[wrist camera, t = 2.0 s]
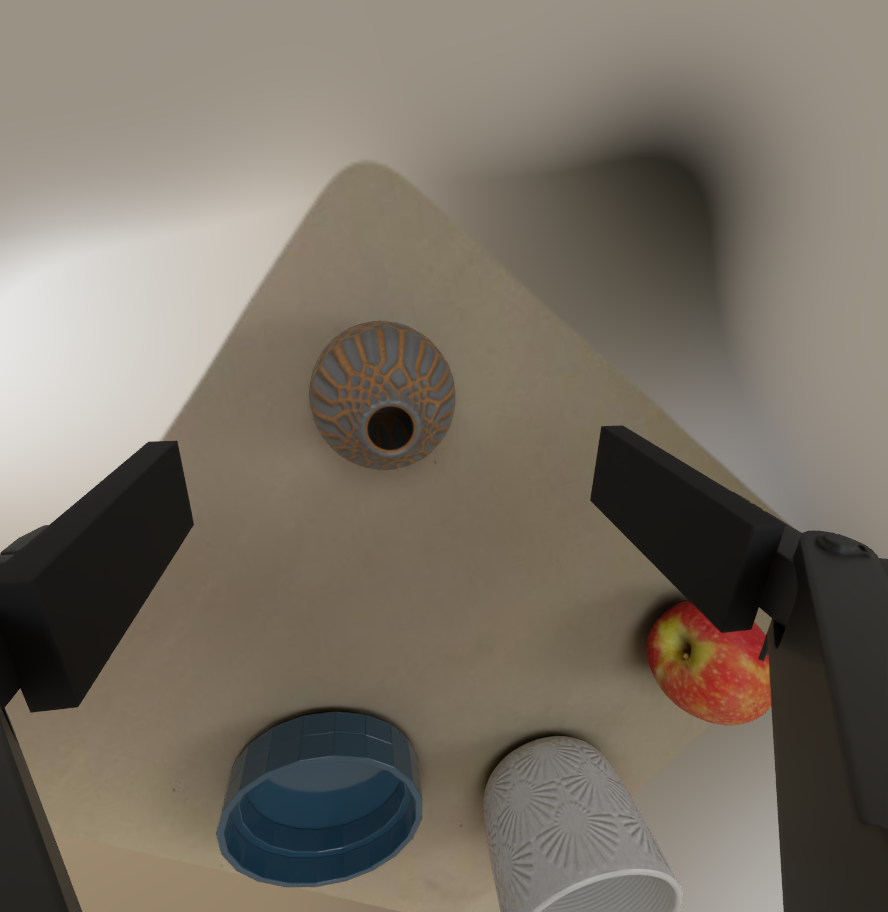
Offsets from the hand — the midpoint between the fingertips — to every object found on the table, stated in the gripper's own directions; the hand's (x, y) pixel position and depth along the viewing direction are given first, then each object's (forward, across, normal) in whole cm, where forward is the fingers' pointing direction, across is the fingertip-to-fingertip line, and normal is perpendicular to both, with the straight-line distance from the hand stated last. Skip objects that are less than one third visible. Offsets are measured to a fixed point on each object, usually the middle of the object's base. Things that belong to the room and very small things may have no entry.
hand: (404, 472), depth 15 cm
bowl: (+13, -5, -31) cm, 34 cm away
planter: (+13, +13, -35) cm, 39 cm away
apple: (+13, +23, -20) cm, 33 cm away
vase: (+13, 0, 0) cm, 13 cm away
